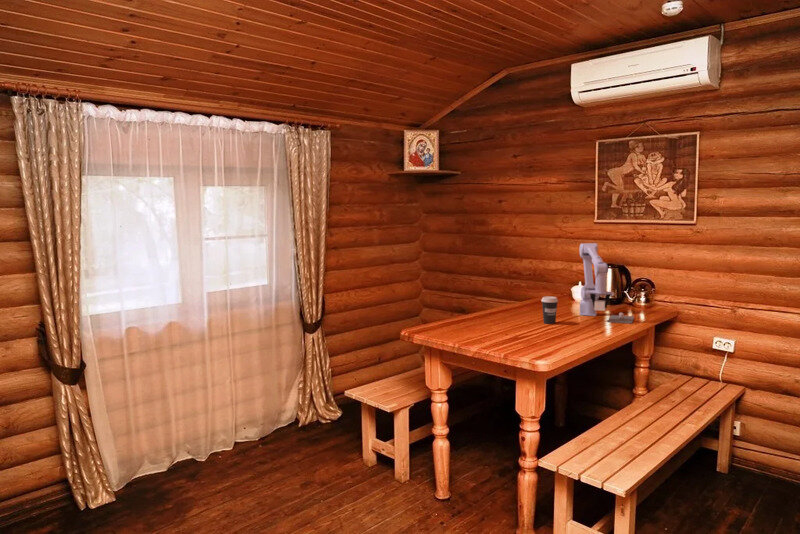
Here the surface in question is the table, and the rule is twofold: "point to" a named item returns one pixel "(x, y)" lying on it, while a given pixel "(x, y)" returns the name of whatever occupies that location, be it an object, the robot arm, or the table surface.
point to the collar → (599, 305)
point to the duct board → (621, 319)
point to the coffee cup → (549, 309)
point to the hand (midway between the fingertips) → (600, 307)
